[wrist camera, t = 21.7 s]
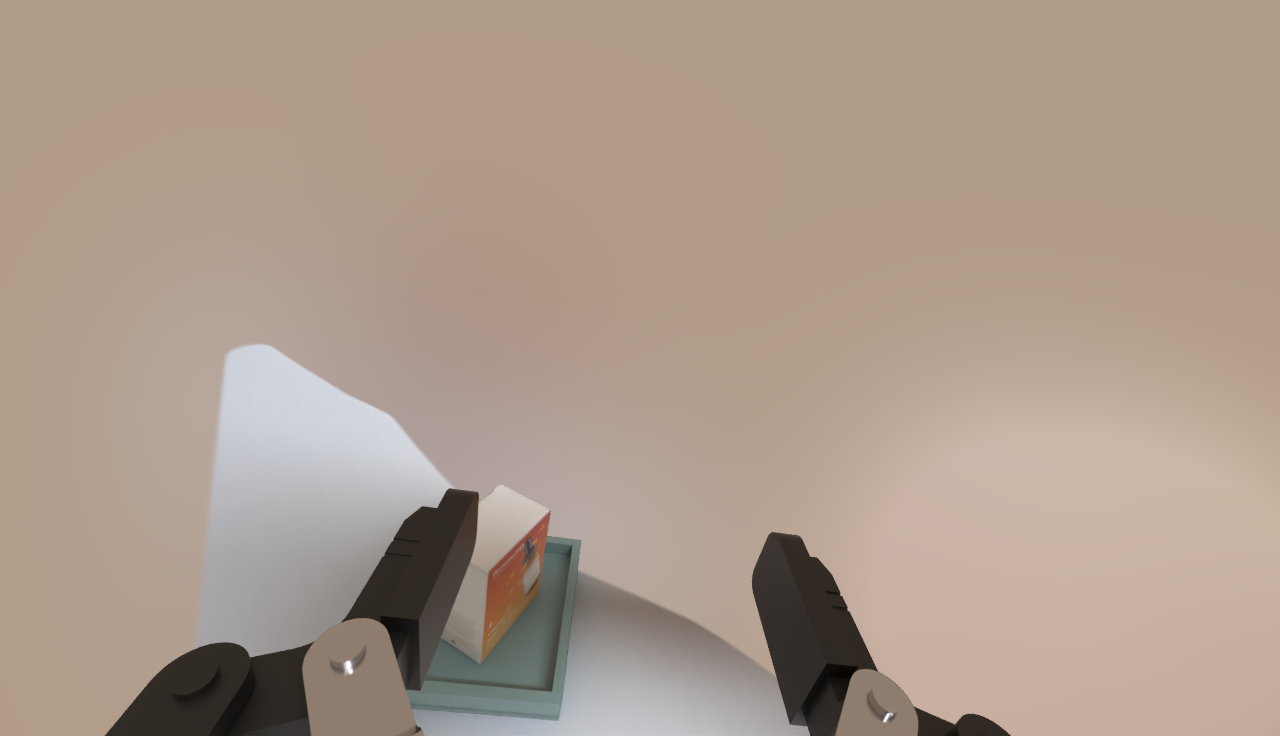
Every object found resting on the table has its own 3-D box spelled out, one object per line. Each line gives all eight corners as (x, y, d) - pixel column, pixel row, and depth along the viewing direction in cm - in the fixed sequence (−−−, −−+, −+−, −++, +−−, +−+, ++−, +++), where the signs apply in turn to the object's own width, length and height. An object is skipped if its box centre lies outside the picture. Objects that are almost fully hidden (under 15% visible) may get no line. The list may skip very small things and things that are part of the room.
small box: (479, 667, 36) (486, 575, 32) (427, 631, 38) (426, 539, 33) (540, 593, 43) (553, 508, 38) (493, 565, 44) (500, 481, 40)
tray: (578, 554, 48) (581, 540, 47) (557, 720, 34) (561, 704, 33) (437, 537, 47) (437, 522, 46) (356, 703, 33) (353, 686, 32)
